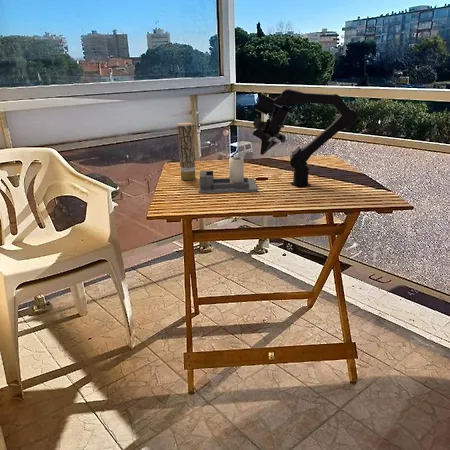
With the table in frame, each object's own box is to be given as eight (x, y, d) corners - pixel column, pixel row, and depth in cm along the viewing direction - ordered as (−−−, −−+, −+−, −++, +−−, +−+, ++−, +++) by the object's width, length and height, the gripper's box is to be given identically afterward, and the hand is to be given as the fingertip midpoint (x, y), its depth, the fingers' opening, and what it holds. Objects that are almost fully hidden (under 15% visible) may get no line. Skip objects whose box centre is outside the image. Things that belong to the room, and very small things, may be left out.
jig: (253, 180, 178) (253, 167, 176) (257, 191, 163) (257, 177, 161) (200, 182, 178) (199, 169, 176) (198, 193, 163) (197, 178, 161)
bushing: (243, 181, 173) (243, 155, 169) (244, 185, 168) (244, 159, 163) (229, 182, 173) (229, 156, 169) (229, 186, 167) (229, 159, 163)
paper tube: (193, 181, 180) (190, 124, 171) (179, 180, 181) (175, 124, 172) (197, 177, 186) (194, 122, 177) (183, 176, 188) (179, 122, 178)
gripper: (272, 113, 173) (258, 146, 179) (250, 109, 158) (235, 145, 164) (293, 124, 168) (277, 158, 174) (272, 121, 153) (255, 157, 159)
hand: (261, 154), depth 168 cm, fingers closed
